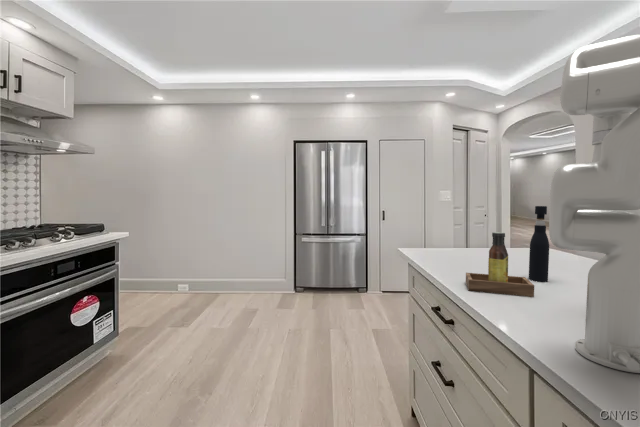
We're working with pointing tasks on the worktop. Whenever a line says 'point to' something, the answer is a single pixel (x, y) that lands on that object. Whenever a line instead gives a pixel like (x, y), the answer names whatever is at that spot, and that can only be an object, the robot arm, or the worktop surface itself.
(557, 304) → the worktop surface
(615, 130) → the robot arm
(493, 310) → the worktop surface
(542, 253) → the wine bottle
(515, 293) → the bottle tray
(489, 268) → the sauce bottle
